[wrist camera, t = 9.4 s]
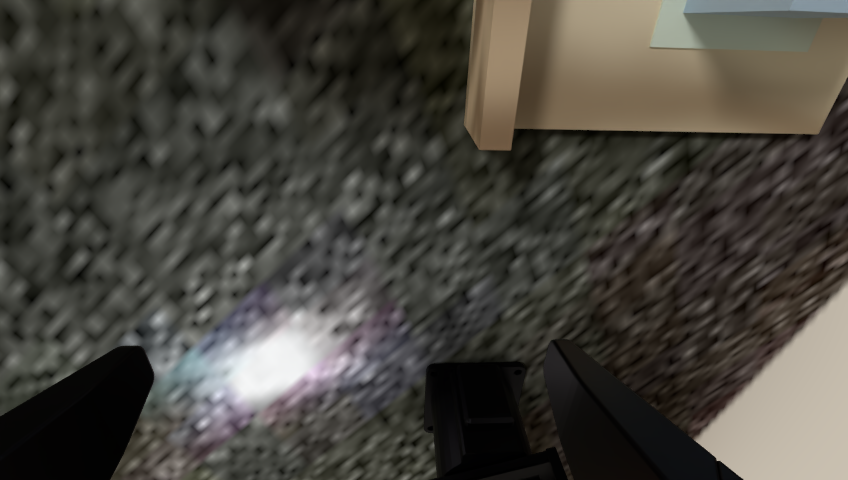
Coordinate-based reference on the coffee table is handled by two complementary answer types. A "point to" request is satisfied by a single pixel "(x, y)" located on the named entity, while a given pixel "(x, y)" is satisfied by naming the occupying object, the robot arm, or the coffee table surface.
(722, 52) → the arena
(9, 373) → the coffee table surface
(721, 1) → the cube
